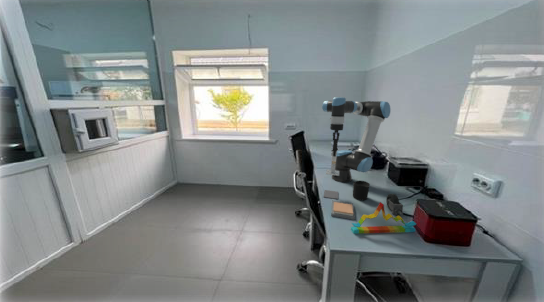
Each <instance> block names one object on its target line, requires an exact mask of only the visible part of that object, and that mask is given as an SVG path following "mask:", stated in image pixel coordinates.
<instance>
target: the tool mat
mask: <svg viewBox="0 0 544 302" xmlns="http://www.w3.org/2000/svg"><path fill="white" fill-rule="evenodd" d="M323 198H326V199H331V200H332V199H333V200H339V191H338V190H337V191H335V190H328V189H324V192H323Z"/></svg>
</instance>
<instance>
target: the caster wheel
mask: <svg viewBox="0 0 544 302" xmlns="http://www.w3.org/2000/svg"><path fill="white" fill-rule="evenodd" d="M385 201H386V206H387V208H388V209H389V210H391V213H392V214H391V215H394V216H398V215H399V216H404V212H403V208H404V205H403V204H402V202H400V199H399V196H398V195H397V194H394V193H388V194H387V195H386V199H385Z"/></svg>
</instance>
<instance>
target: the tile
mask: <svg viewBox="0 0 544 302" xmlns="http://www.w3.org/2000/svg"><path fill="white" fill-rule="evenodd" d="M333 213H338V214H344V215H350V216H353V208H352V205H351V204H344V203H337V202H334V210H333Z"/></svg>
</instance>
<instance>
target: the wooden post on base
mask: <svg viewBox="0 0 544 302" xmlns="http://www.w3.org/2000/svg"><path fill="white" fill-rule="evenodd" d="M335 164H336V161H332V160H331V165H330V166H331V167H330V169H326V172H325V175H330V176H332V175H337V176H339V171H337V170H335Z"/></svg>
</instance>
